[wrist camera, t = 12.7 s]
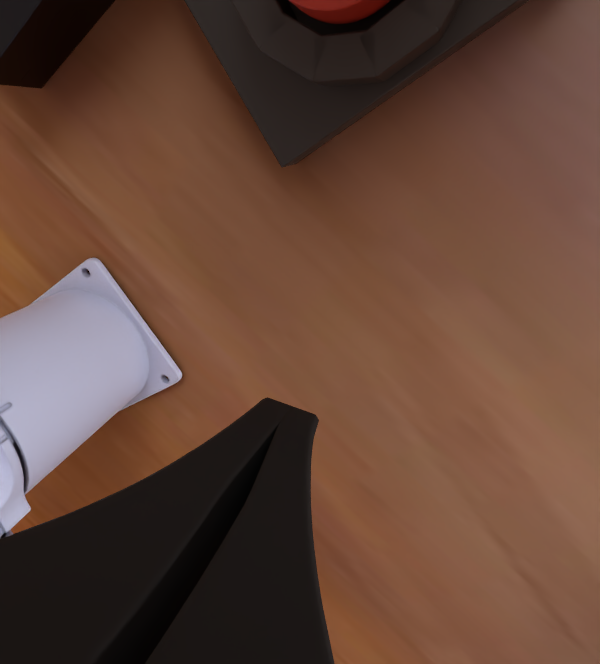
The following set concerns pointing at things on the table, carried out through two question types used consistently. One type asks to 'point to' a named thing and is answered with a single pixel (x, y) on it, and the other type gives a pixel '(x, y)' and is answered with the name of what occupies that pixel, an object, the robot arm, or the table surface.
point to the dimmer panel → (42, 36)
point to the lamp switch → (339, 9)
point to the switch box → (332, 59)
